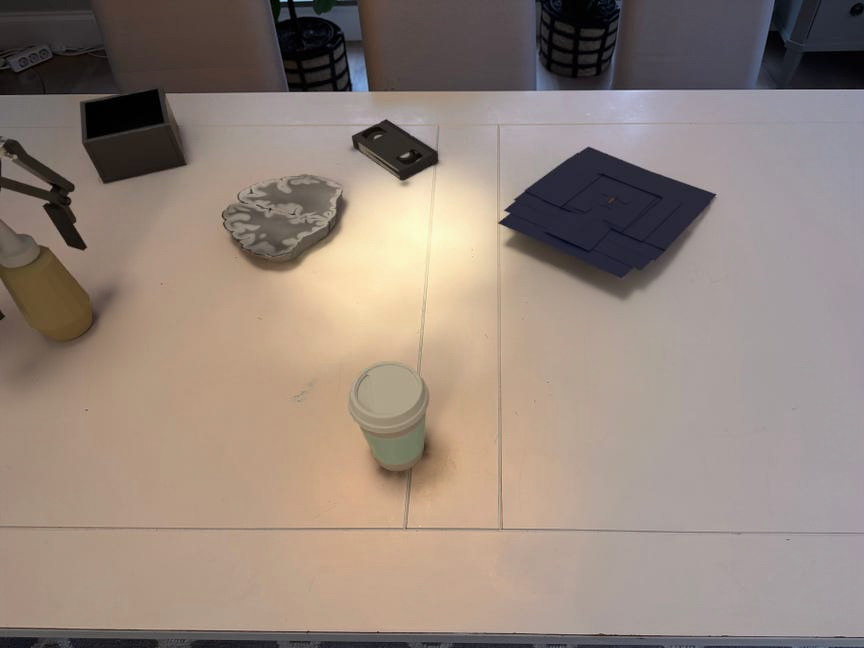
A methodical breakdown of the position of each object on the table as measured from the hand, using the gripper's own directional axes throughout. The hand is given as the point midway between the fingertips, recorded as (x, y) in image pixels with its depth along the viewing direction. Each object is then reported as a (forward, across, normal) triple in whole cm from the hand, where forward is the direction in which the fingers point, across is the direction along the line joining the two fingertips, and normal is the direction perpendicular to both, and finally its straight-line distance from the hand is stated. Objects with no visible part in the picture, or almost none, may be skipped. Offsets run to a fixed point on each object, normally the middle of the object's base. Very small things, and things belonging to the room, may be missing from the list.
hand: (38, 279), depth 85 cm
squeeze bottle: (+9, 0, 0) cm, 9 cm away
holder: (+8, +37, +19) cm, 42 cm away
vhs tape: (+9, +53, -22) cm, 58 cm away
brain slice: (+9, +29, -15) cm, 34 cm away
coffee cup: (+10, -1, -51) cm, 51 cm away
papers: (+10, +50, -61) cm, 79 cm away
